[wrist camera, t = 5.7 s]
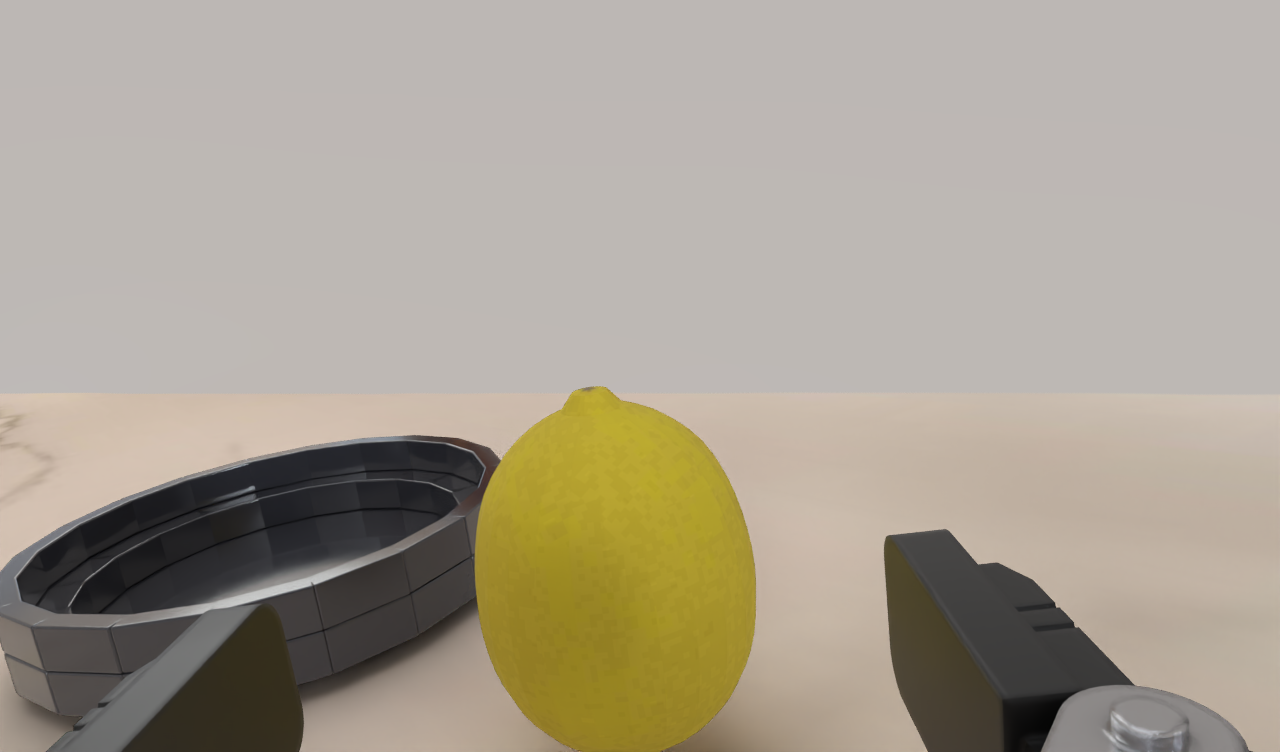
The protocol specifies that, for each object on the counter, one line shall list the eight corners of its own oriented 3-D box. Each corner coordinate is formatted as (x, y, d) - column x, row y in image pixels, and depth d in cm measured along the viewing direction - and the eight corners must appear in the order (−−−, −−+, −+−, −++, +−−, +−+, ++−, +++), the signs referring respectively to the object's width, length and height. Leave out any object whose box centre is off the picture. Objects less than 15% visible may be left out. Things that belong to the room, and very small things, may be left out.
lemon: (493, 719, 19) (432, 387, 18) (713, 655, 21) (676, 342, 19) (535, 899, 14) (454, 455, 13) (824, 797, 16) (787, 387, 14)
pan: (528, 484, 35) (517, 416, 35) (492, 684, 21) (472, 574, 20) (171, 535, 35) (153, 467, 34) (-125, 778, 20) (-166, 667, 20)
